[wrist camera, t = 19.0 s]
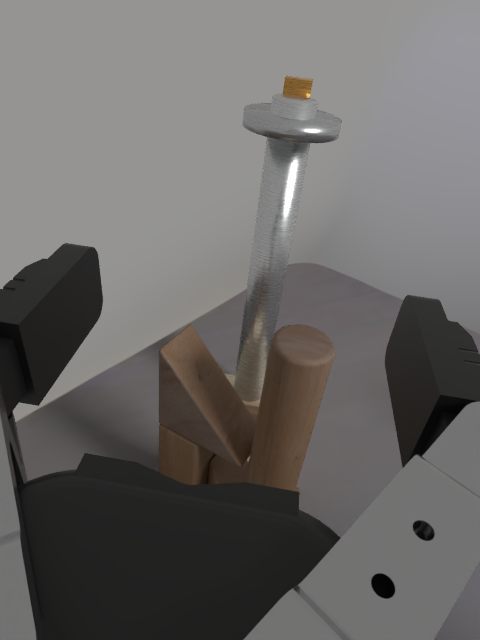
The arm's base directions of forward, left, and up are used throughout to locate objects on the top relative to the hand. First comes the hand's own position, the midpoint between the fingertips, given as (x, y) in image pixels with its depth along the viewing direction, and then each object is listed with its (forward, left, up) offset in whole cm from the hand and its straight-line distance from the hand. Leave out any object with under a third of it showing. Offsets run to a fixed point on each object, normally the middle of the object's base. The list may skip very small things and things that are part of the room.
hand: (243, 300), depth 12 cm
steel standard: (+25, 0, -29) cm, 39 cm away
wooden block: (+11, 0, -27) cm, 29 cm away
